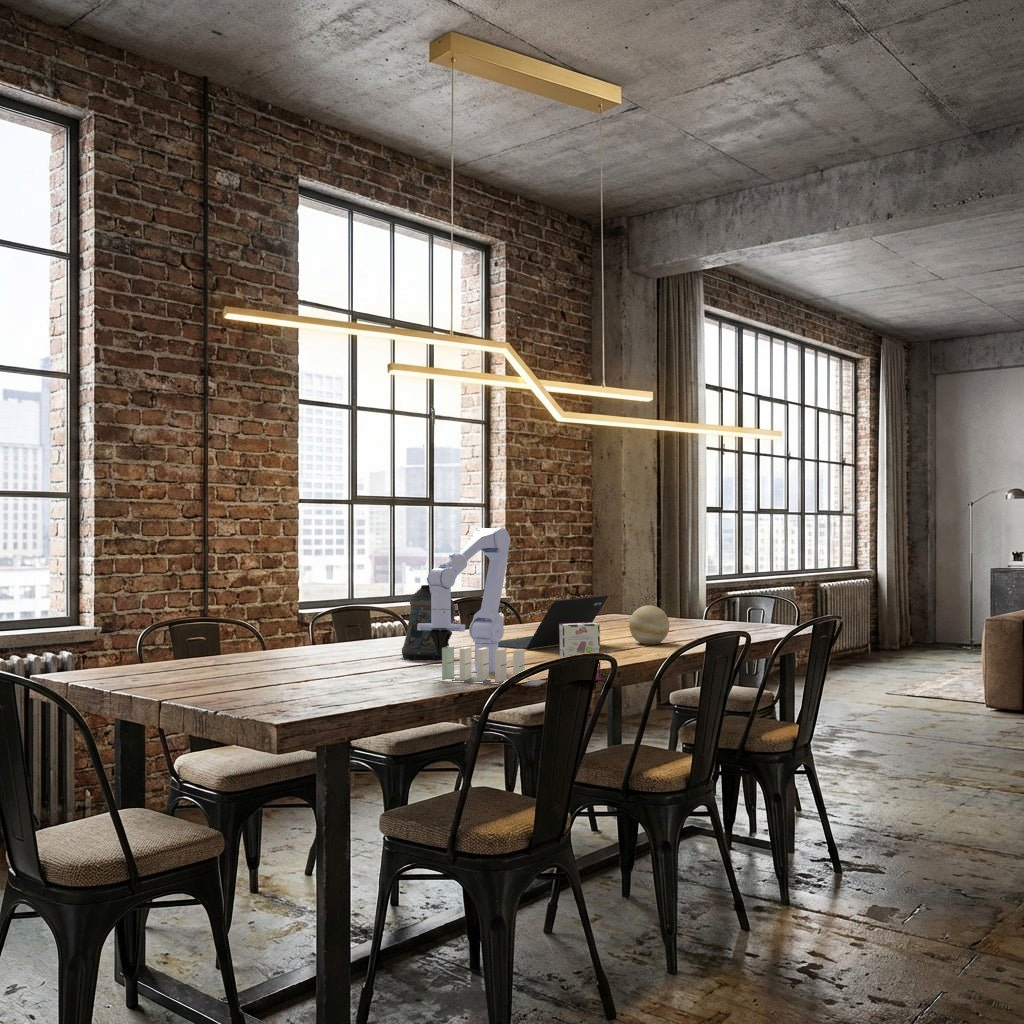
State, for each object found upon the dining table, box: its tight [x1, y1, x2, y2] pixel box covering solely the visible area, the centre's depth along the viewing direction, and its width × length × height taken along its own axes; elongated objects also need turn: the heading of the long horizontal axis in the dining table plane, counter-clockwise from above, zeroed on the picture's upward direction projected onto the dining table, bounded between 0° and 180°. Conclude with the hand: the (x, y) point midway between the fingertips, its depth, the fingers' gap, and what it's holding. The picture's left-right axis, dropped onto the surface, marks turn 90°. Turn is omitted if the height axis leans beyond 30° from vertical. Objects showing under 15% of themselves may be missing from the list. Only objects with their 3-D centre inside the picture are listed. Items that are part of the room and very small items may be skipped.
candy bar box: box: [559, 622, 601, 681], centre depth 299 cm, size 11×5×16 cm, turn 101°
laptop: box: [498, 595, 609, 651], centre depth 386 cm, size 33×38×19 cm
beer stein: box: [401, 584, 456, 661], centre depth 349 cm, size 16×19×25 cm
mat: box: [452, 676, 547, 687], centre depth 297 cm, size 36×9×1 cm, turn 69°
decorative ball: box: [628, 604, 670, 646], centre depth 389 cm, size 15×15×15 cm
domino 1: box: [459, 646, 473, 680], centre depth 299 cm, size 2×5×9 cm, turn 159°
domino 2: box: [476, 647, 490, 681], centre depth 297 cm, size 2×5×9 cm, turn 159°
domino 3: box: [494, 647, 508, 682], centre depth 296 cm, size 2×5×9 cm, turn 160°
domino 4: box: [512, 649, 526, 676], centre depth 294 cm, size 2×5×9 cm, turn 159°
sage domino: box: [441, 645, 455, 679], centre depth 301 cm, size 2×5×9 cm, turn 160°
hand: (441, 655), depth 302 cm, fingers closed
